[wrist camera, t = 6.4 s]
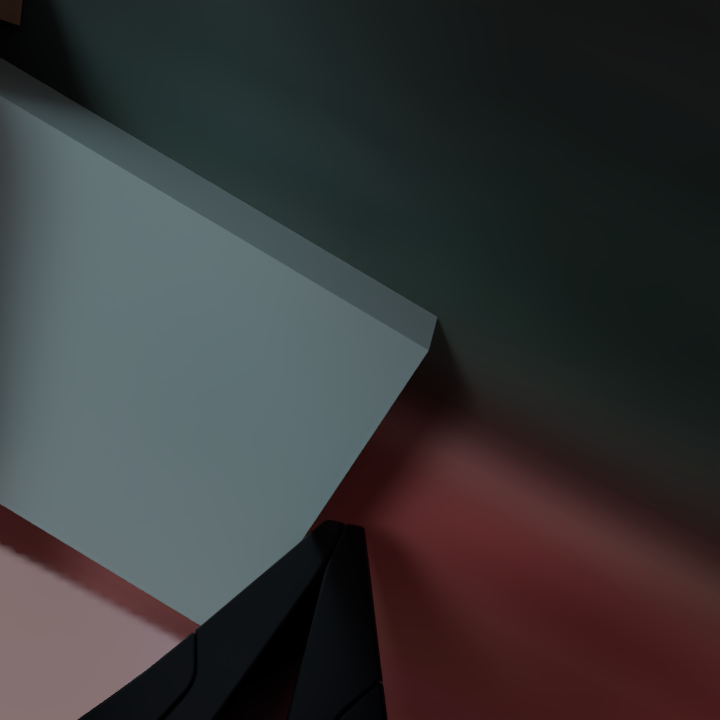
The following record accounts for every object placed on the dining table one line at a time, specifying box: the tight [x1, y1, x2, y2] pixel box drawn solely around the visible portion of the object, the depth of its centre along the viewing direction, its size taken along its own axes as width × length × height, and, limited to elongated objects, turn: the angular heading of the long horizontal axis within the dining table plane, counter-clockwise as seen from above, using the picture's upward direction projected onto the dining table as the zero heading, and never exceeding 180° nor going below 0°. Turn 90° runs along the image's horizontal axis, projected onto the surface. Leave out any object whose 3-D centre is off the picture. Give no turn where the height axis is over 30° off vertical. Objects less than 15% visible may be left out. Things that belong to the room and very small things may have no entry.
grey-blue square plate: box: [0, 58, 437, 626], centre depth 10 cm, size 10×9×2 cm
